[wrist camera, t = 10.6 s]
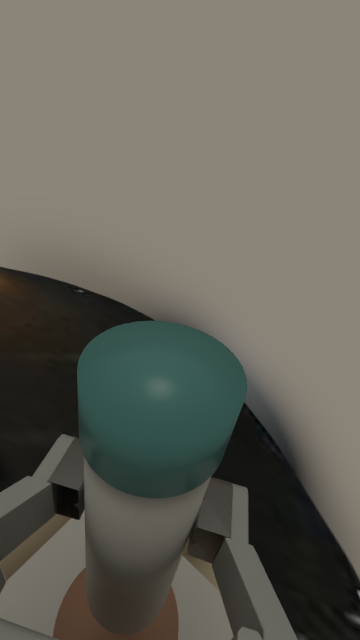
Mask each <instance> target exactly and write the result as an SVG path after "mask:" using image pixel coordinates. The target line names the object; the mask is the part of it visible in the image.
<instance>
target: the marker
mask: <svg viewBox="0 0 360 640" xmlns="http://www.w3.org/2000/svg"><path fill="white" fill-rule="evenodd" d="M77 382H78V417H79V440H80V445H81V449H82V452H83V455H84V502H85V559H86V595H87V601H88V605H89V608H90V610H91V612H92V615H93V616H94V618H95V619H96V621H97V622H98V623H99V624H100V625H101V626H102V627H103V628H105V629H106V630H108V631H110V632H112V633H115V634H120V635H129V634H133V633H136V632H139V631H141V630H142V629H144V628H146V627H147V626H148V625H149V624H150V623H152V622H153V620H154V619H155V618H156V617H157V616H158V614H159V613H160V611H161V609H162V607H163V606H164V603H165V601H166V598H167V595H168V593H169V590H170V587H171V585H172V582H173V579H174V576H175V574H176V571H177V568H178V565H179V563H180V560H181V557H182V555H183V552H184V549H185V546H186V544H187V541H188V538H189V535H190V533H191V530H192V527H193V525H194V522H195V519H196V516H197V514H198V511H199V508H200V506H201V503H202V500H203V497H204V495H205V492H206V489H207V487H208V484H209V481H210V478H211V476H212V474H213V473H214V472H215V471H216V469H217V468H218V466H219V464H220V463H221V460H222V458H223V455H224V452H225V450H226V447H227V445H228V442H229V439H230V437H231V434H232V431H233V429H234V426H235V424H236V421H237V418H238V416H239V413H240V410H241V408H242V405H243V403H244V400H245V397H246V392H247V380H246V375H245V373H244V370H243V367H242V365H241V364H240V362H239V360H238V359H237V358H236V356H235V355H234V354H233V353H232V352H231V351H230V350H229V349H228V348H227V347H226V346H225V345H223V344H222V343H221V342H219V341H218V340H217V339H215V338H213V337H212V336H210V335H208V334H206V333H204V332H202V331H199V330H197V329H194V328H192V327H188V326H185V325H181V324H177V323H171V322H163V321H139V322H132V323H127V324H123V325H119V326H116V327H113V328H111V329H109V330H107V331H105V332H103V333H101V334H100V335H98V336H97V337H95V338H94V339H93V340H92V341H91V342H90V343H89V344H88V345H87V346H86V347H85V349H84V350H83V352H82V354H81V356H80V359H79V362H78V368H77Z"/></svg>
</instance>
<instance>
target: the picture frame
mask: <svg viewBox="0 0 360 640" xmlns="http://www.w3.org/2000/svg"><path fill="white" fill-rule="evenodd" d="M188 542H189V538H188V541H187V544H186V546H185V549H184V552H183V555H182V557H181V560H180V563H179V565H178V568H177V571H176V574H175V576H174V579H173V582H172V585H171V587H170V590H169V593H168V595H167V598H166V601H165V603H164V606H163V607H162V609H161V611H160V613H159V614H158V616H157V617H156V618H155V619H154V620H153V622H152V623H150V624H149V625H148V626H147V627H146V628H144V629H142V630H141V631H139V632H136V633H133V634H129V635H120V634H115V633H112V632H110V631H108V630H106V629H105V628H103V627H102V626H101V625H100V624H99V623H98V622H97V621H96V619H95V618H94V616H93V615H92V612H91V610H90V608H89V605H88V601H87V595H86V559H85V509H84V511H83V514H82V516H81V518H80V520H76V519H73V518H69V517H66V516H63V515H59V514H56V513H55V516H54V517H52V518H51V519H50V520H49V521H48V522H47V523H45V524H44V525H43V526H42V527H41V528H39V529H38V530H37V531H36V532H35V533H33V534H32V535H31V536H30V537H29V538H27V539H26V540H25V541H24V542H23V543H21V544H20V545H19V546H18V547H17V548H16V549H14V550H13V551H12V552H11V553H10V554H8V555H7V556H6V557H5V558H4V559H2V560H1V561H0V564H1V566H2V569H3V572H4V574H5V577H6V584H5V586H4V588H3V589H2V591H1V593H0V618H2V619H4V620H7V621H10V622H13V623H15V624H18V625H21V626H24V627H27V628H29V629H32V630H35V631H38V632H40V633H43V634H46V635H49V636H51V637H54V638H57V639H60V640H231V639H232V638H233V637H234V636H233V633H232V630H231V627H230V623H229V620H228V617H227V614H226V610H225V607H224V604H223V601H222V597H221V594H220V591H219V588H218V584H217V581H216V578H215V575H214V571H213V568H212V564H211V563H209V562H206V561H203V560H200V559H197V558H194V557H192V556H189V555H187V548H188Z"/></svg>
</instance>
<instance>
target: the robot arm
mask: <svg viewBox="0 0 360 640" xmlns="http://www.w3.org/2000/svg"><path fill="white" fill-rule="evenodd" d="M84 509H85V502H84V455H83V452H82V449H81V445H80V440H79V439H77V438H75V437H71V436H68V435H64V434H62V435H61V436H60V437H59V438H58V439H57V441H56V442H55V444H54V445H53V447H52V448H51V449H50V451H49V452H48V454H47V455H46V457H45V458H44V460H43V461H42V463H41V464H40V466H39V467H38V469H37V470H36V472H35V473H34V475H33V476H32V477H30V476H27V477H25V478H23V479H22V480H20V481H19V482H17V483H15V484H14V485H12V486H10V487H9V488H7V489H5V490H4V491H2V492H0V561H1V560H2V559H4V558H5V557H6V556H7V555H8V554H10V553H11V552H12V551H13V550H14V549H16V548H17V547H18V546H19V545H20V544H21V543H23V542H24V541H25V540H26V539H27V538H29V537H30V536H31V535H32V534H33V533H35V532H36V531H37V530H38V529H39V528H41V527H42V526H43V525H44V524H45V523H47V522H48V521H49V520H50V519H51V518H52V517H54V516H55V513H56V514H59V515H63V516H66V517H69V518H73V519H76V520H80V518H81V516H82V514H83V511H84ZM187 555H189V556H192V557H194V558H197V559H200V560H203V561H206V562H209V563H211V564H212V568H213V571H214V575H215V578H216V581H217V584H218V588H219V591H220V594H221V597H222V601H223V604H224V607H225V610H226V614H227V617H228V620H229V623H230V627H231V630H232V633H233V636H234V637H233V638H232V639H231V640H297V638H296V635H295V633H294V631H293V629H292V627H291V625H290V623H289V621H288V619H287V616H286V614H285V612H284V610H283V608H282V606H281V604H280V602H279V600H278V598H277V595H276V593H275V591H274V589H273V587H272V585H271V583H270V581H269V579H268V576H267V574H266V572H265V570H264V568H263V566H262V564H261V562H260V560H259V558H258V555H257V553H256V551H255V549H254V547H253V546H252V545H249V544H248V490H247V488H246V487H243V486H239V485H236V484H232V483H230V482H226V481H223V480H219V479H215V478H212V477H211V478H210V481H209V484H208V487H207V489H206V492H205V495H204V497H203V500H202V503H201V506H200V508H199V511H198V514H197V516H196V519H195V522H194V525H193V527H192V530H191V533H190V535H189V542H188V548H187ZM5 584H6V577H5V574H4V572H3V569H2V566H1V564H0V593H1V591H2V589H3V588H4V586H5ZM0 640H60V639H57V638H54V637H51V636H49V635H46V634H43V633H40V632H38V631H35V630H32V629H29V628H27V627H24V626H21V625H18V624H15V623H13V622H10V621H7V620H4V619H2V618H0Z"/></svg>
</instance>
